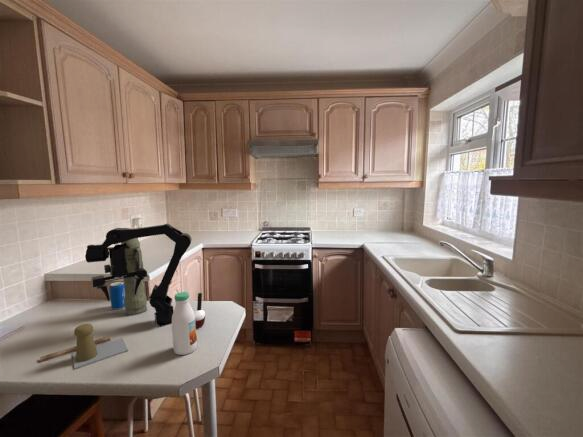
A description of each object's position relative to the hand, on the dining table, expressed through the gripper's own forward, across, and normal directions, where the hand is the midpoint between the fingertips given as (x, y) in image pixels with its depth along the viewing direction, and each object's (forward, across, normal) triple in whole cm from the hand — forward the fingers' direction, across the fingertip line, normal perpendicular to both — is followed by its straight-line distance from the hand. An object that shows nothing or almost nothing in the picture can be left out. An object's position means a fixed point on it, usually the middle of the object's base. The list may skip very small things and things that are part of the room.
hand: (122, 297), depth 114 cm
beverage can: (+13, -2, -26) cm, 29 cm away
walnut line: (+13, +16, +6) cm, 21 cm away
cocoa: (+13, -23, +19) cm, 33 cm away
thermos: (+13, -7, -15) cm, 21 cm away
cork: (+13, +14, +15) cm, 24 cm away
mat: (+13, +10, +14) cm, 22 cm away
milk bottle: (+13, -13, +33) cm, 38 cm away
